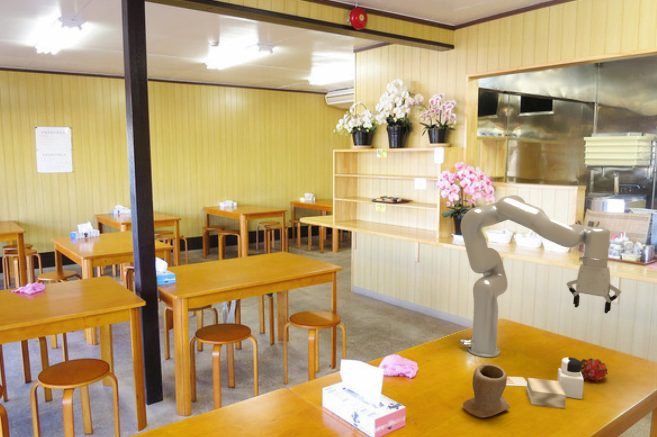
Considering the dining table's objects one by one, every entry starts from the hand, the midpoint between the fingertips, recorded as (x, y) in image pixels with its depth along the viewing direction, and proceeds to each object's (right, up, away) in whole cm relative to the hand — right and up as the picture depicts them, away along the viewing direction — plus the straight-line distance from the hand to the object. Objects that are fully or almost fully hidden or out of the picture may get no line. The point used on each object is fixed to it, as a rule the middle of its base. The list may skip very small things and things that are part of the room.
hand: (591, 309), depth 178 cm
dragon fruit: (+3, -26, +4) cm, 27 cm away
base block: (-21, -28, -11) cm, 37 cm away
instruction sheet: (-28, -26, +1) cm, 38 cm away
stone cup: (-43, -29, -20) cm, 55 cm away
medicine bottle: (-11, -28, -7) cm, 31 cm away
